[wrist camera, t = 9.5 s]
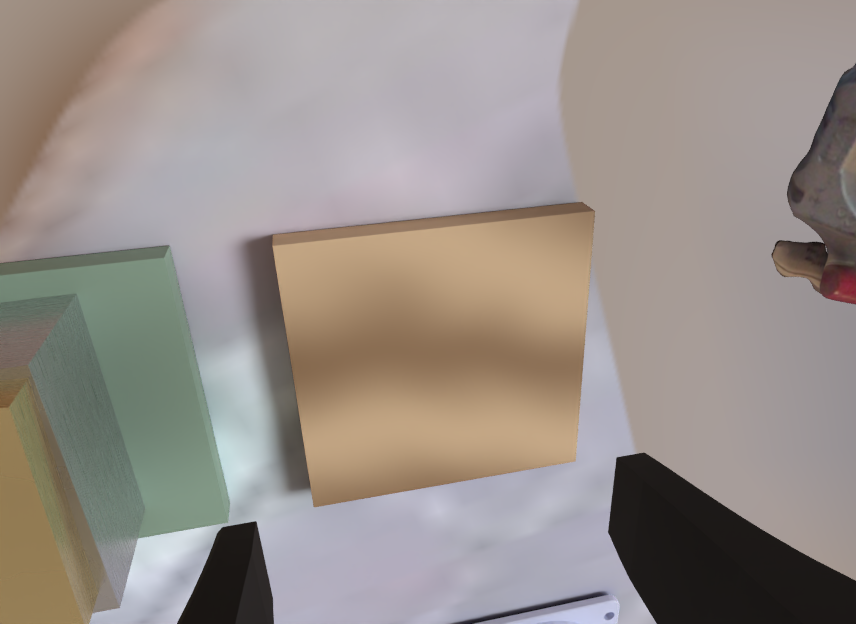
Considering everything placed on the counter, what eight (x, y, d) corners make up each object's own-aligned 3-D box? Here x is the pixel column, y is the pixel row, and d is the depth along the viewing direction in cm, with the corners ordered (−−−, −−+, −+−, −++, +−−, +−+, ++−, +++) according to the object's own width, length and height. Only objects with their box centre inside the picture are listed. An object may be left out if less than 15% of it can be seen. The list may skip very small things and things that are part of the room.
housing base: (76, 293, 18) (27, 364, 15) (145, 508, 22) (119, 607, 18) (-122, 316, 17) (-225, 398, 14) (-17, 536, 21) (-77, 646, 17)
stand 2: (565, 445, 26) (575, 461, 25) (312, 488, 24) (313, 507, 23) (581, 202, 21) (594, 210, 20) (272, 234, 20) (272, 246, 19)
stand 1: (229, 502, 23) (227, 522, 23) (-73, 554, 22) (-88, 577, 21) (169, 245, 19) (163, 257, 18) (-217, 286, 17) (-243, 301, 16)
